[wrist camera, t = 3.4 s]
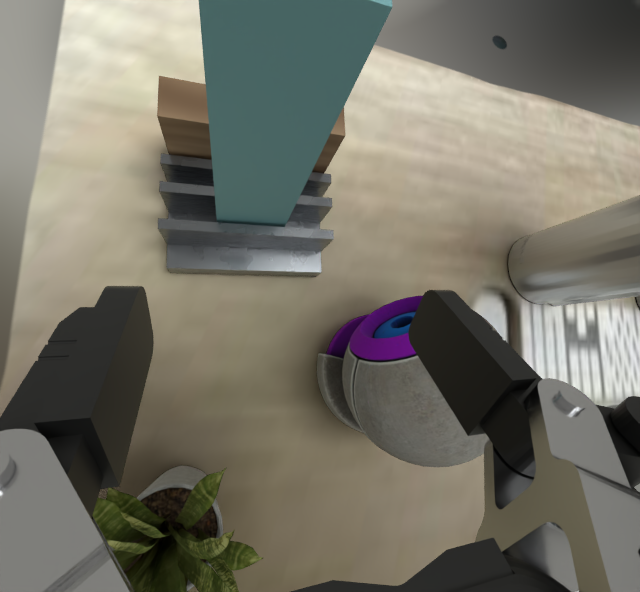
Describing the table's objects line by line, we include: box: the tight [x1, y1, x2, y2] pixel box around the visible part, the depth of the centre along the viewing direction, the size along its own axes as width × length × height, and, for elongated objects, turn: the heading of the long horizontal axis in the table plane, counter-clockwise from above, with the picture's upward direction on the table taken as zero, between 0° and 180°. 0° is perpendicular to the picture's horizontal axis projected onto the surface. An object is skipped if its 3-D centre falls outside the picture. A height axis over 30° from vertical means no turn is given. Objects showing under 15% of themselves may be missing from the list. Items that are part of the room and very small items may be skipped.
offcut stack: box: [157, 76, 345, 174], centre depth 26 cm, size 3×13×9 cm, turn 92°
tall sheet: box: [199, 0, 392, 227], centre depth 19 cm, size 2×6×22 cm, turn 92°
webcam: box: [317, 296, 503, 467], centre depth 26 cm, size 13×13×15 cm
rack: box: [158, 154, 334, 277], centre depth 29 cm, size 14×14×6 cm
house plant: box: [93, 466, 263, 592], centre depth 19 cm, size 14×14×16 cm
